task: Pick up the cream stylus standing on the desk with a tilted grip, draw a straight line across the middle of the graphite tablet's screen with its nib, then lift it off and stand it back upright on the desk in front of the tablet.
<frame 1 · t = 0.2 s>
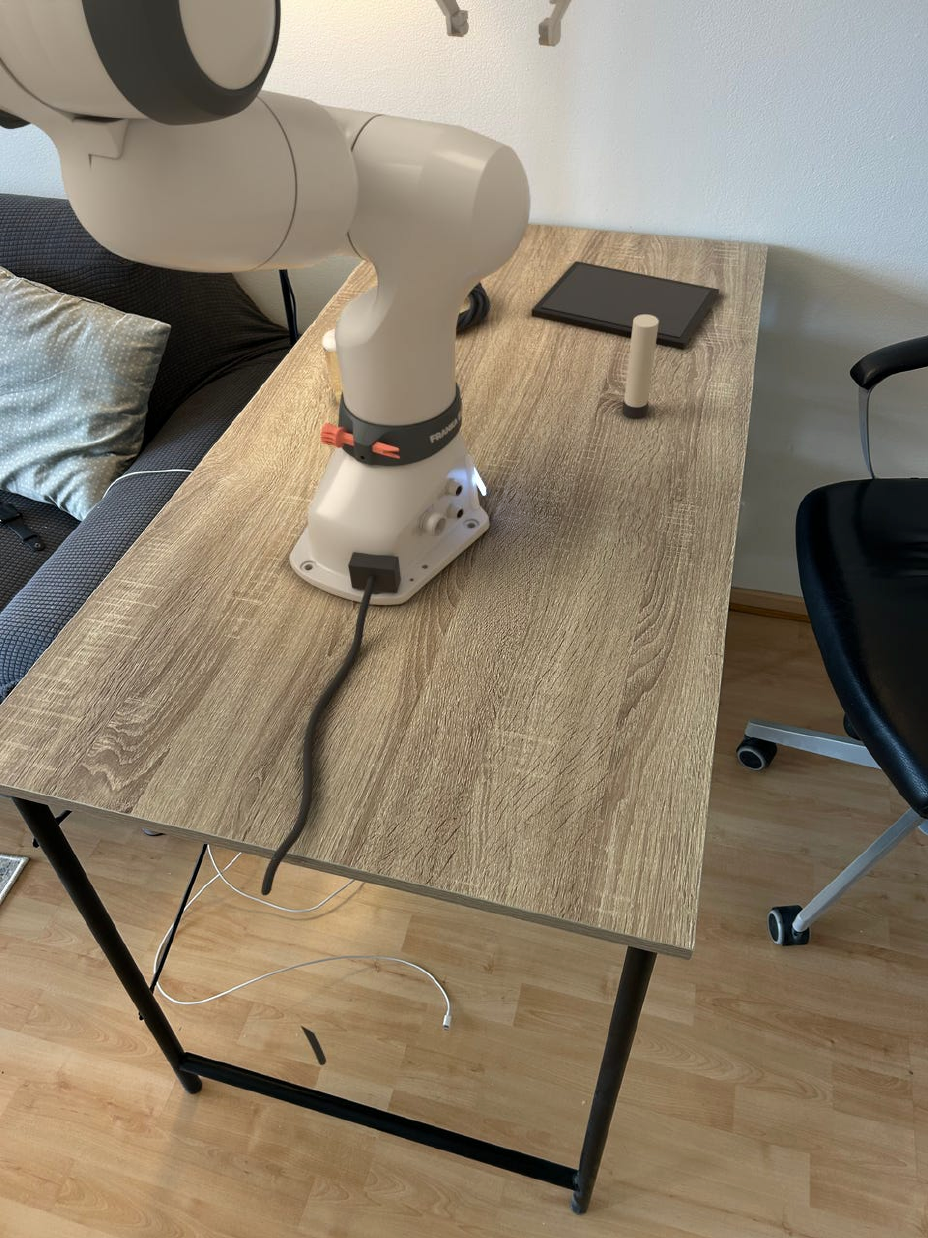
hand: (503, 38, 84), 39 cm above the table, tool pointing down, fingers open, 8 cm apart
tablet: (625, 305, 127), on the table
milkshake: (352, 399, 113), on the table
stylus: (634, 411, 109), on the table
cable: (429, 317, 126), on the table
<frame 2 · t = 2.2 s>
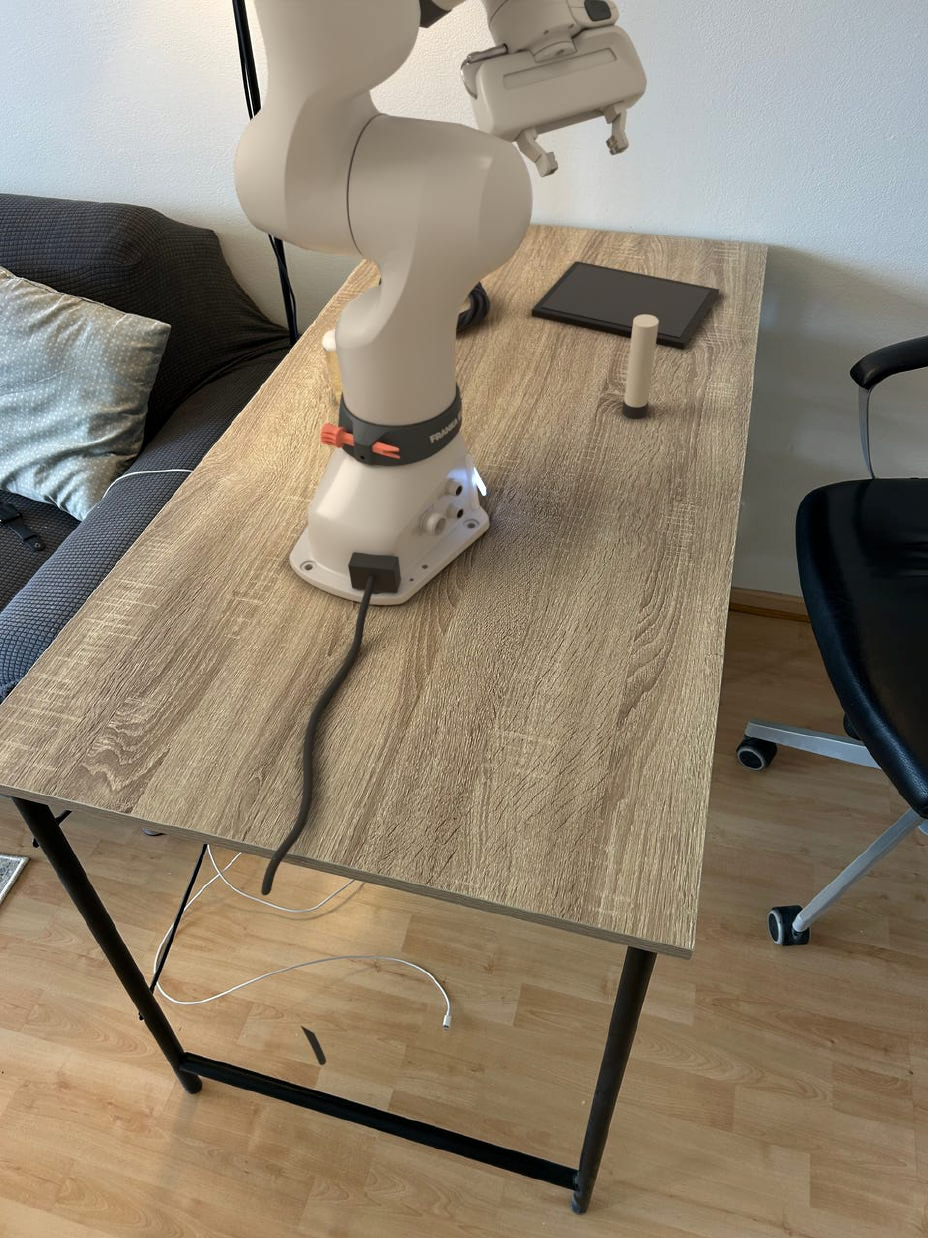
hand: (585, 162, 98), 25 cm above the table, tool tilted 45°, fingers open, 8 cm apart
nothing on the table moved.
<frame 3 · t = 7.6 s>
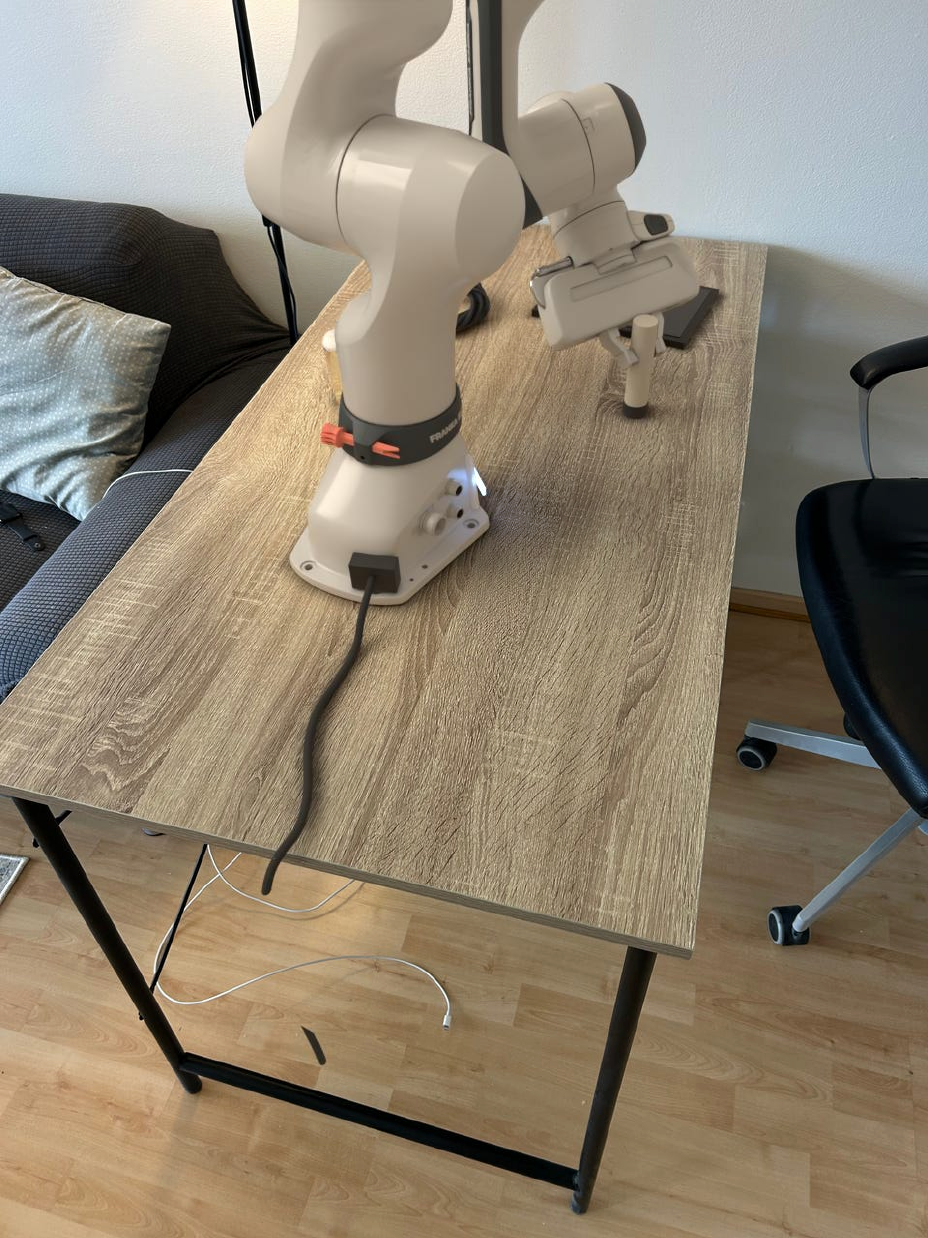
hand: (644, 361, 103), 7 cm above the table, tool tilted 45°, fingers closed on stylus, 3 cm apart
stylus: (634, 411, 109), on the table, touching gripper
everything else where it was.
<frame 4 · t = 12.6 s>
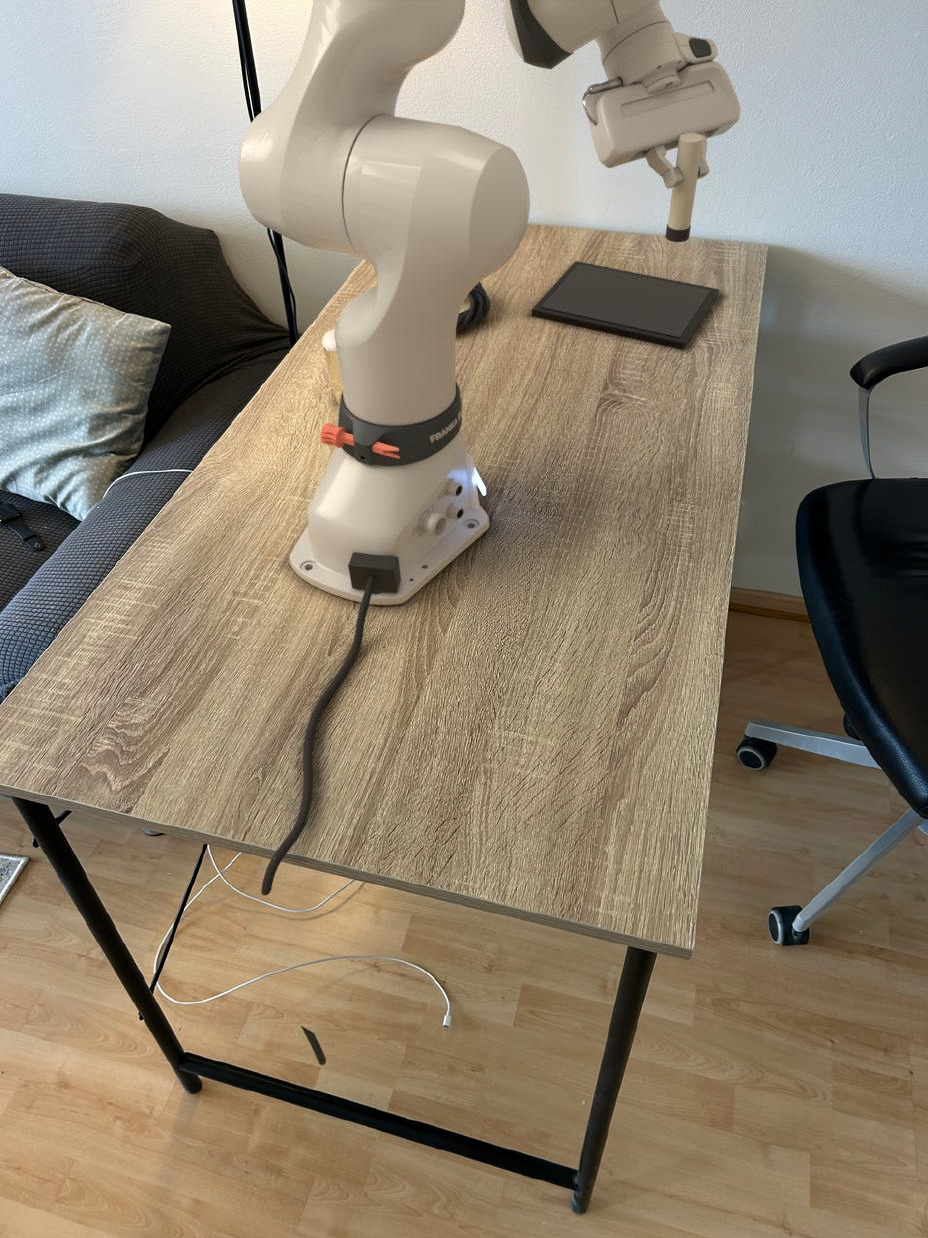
hand: (689, 180, 110), 19 cm above the table, tool tilted 45°, fingers closed on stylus, 3 cm apart
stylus: (677, 236, 115), point 11 cm above the table, touching gripper
everything else where it was.
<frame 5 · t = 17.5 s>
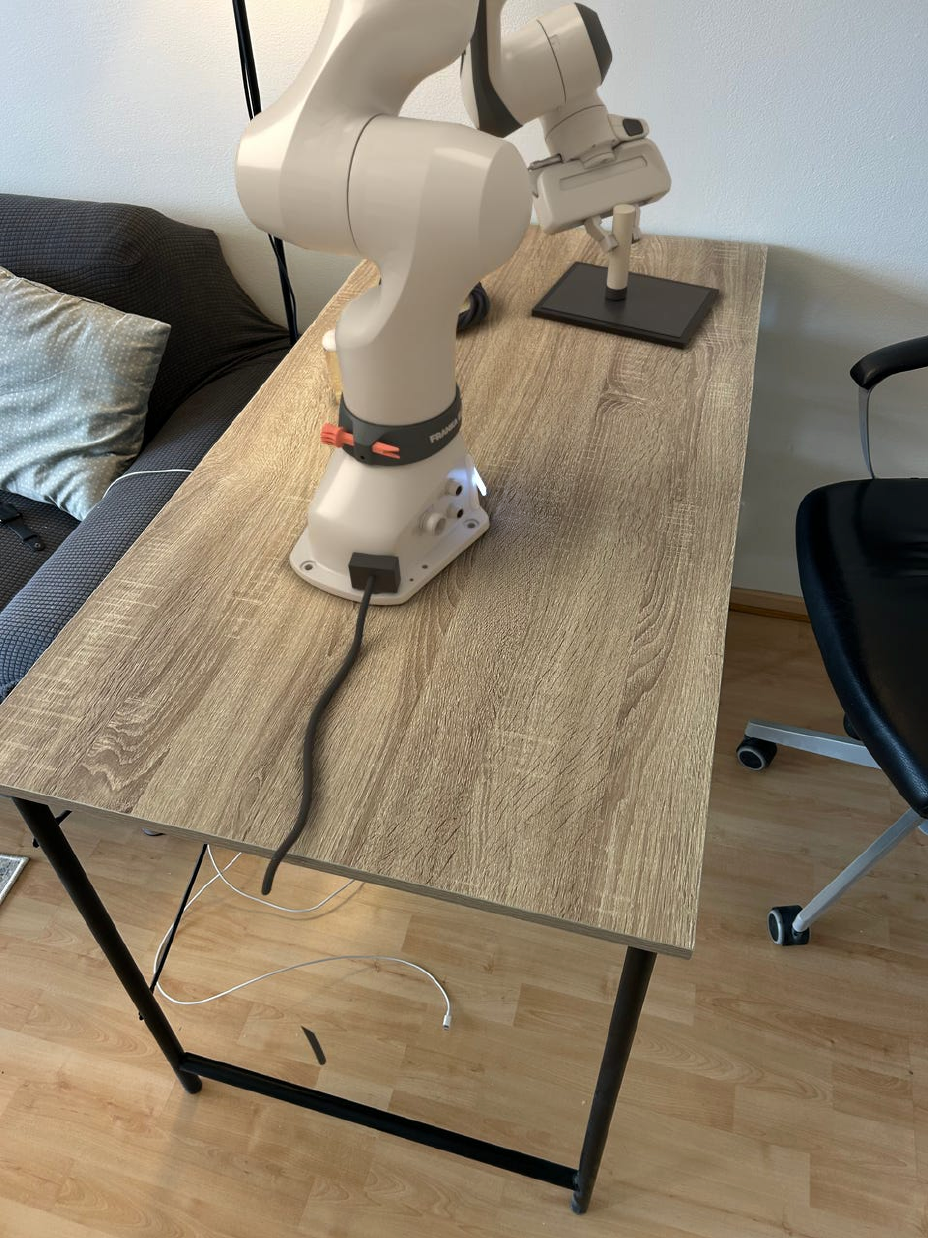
hand: (623, 246, 120), 8 cm above the table, tool tilted 45°, fingers closed on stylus, 3 cm apart
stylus: (615, 294, 126), point 1 cm above the table, touching gripper
everything else where it was.
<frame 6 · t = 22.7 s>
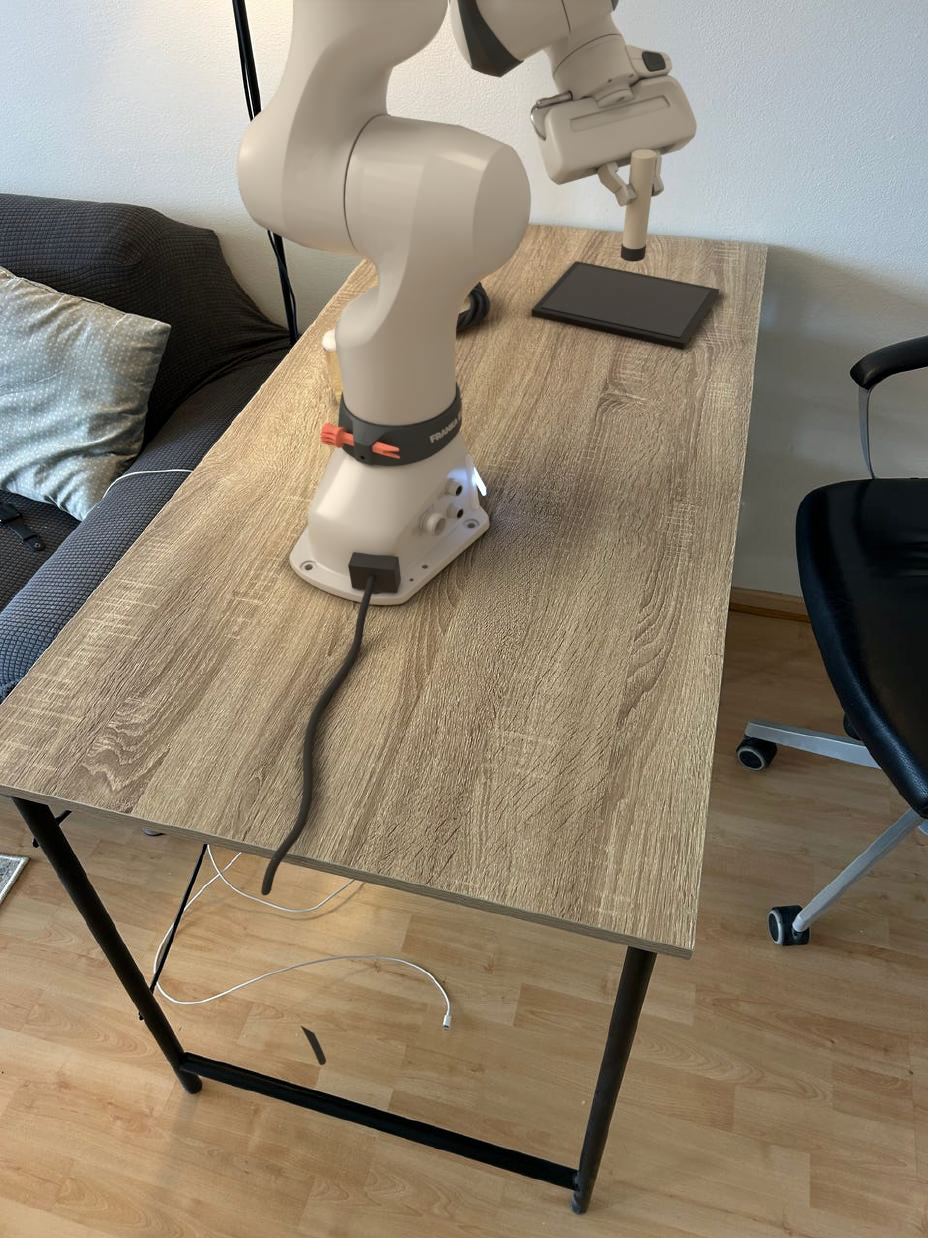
hand: (642, 198, 106), 19 cm above the table, tool tilted 45°, fingers closed on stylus, 3 cm apart
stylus: (632, 256, 111), point 12 cm above the table, touching gripper
everything else where it was.
when the fingers open (7 cm above the table, at t = 27.3 s): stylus stays where it is, on the table.
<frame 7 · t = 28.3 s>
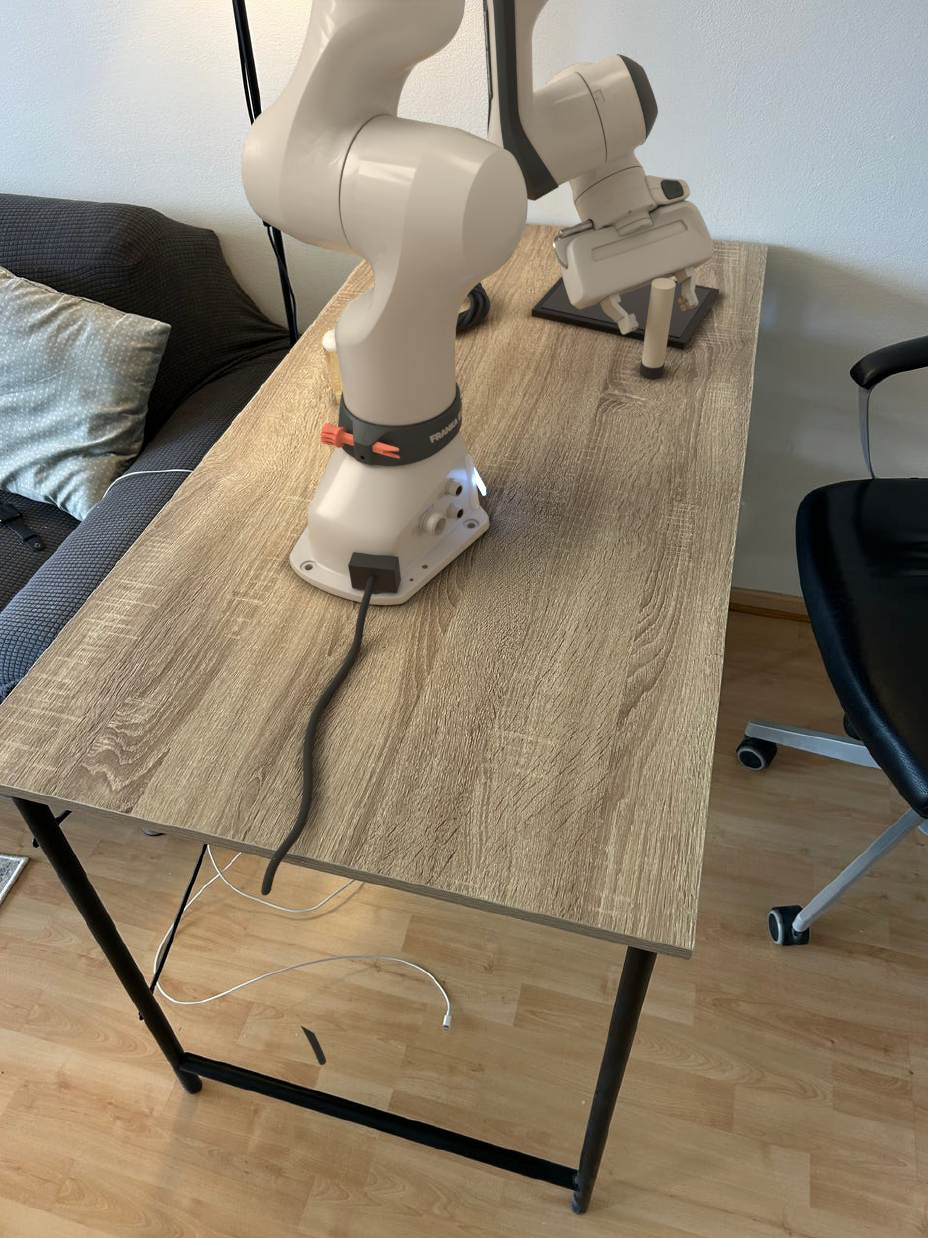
hand: (661, 319, 109), 8 cm above the table, tool tilted 45°, fingers open, 8 cm apart
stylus: (651, 372, 115), on the table
everything else where it was.
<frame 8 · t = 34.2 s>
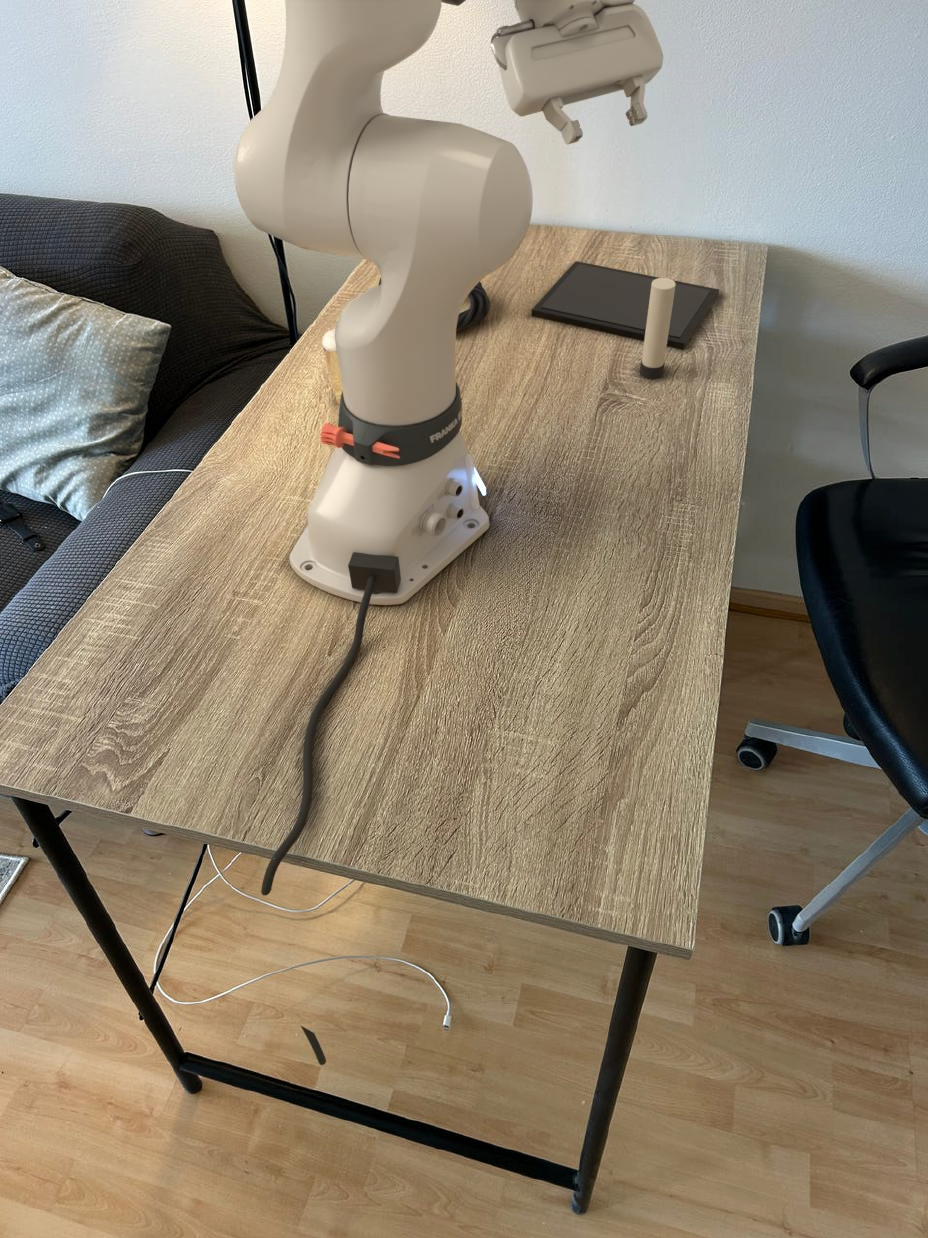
hand: (607, 131, 103), 25 cm above the table, tool tilted 45°, fingers open, 8 cm apart
nothing on the table moved.
at the end: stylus inside the target area on the table beside the tablet (0.1 cm from its centre), on the table; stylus tilted 0°; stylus moved 9.1 cm from its start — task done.
